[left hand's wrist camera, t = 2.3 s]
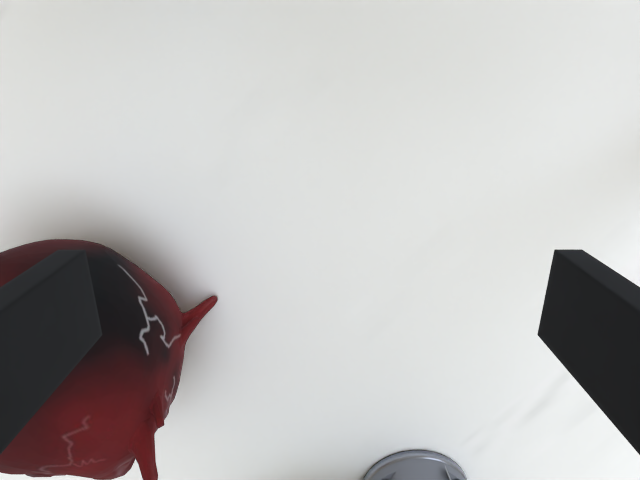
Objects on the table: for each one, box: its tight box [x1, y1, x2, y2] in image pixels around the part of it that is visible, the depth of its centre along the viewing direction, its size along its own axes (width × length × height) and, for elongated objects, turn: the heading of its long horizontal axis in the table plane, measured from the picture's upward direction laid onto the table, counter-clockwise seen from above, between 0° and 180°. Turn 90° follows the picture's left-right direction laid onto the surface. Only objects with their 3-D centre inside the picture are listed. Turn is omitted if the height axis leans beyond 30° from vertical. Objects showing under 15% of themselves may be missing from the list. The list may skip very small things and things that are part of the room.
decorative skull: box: [0, 239, 217, 480], centre depth 43 cm, size 21×24×25 cm
